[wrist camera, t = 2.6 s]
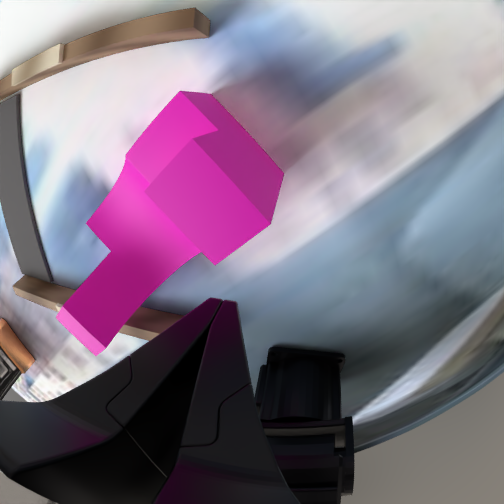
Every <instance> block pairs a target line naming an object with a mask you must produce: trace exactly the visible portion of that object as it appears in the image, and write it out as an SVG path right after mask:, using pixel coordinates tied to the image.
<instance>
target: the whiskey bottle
mask: <svg viewBox="0 0 504 504" xmlns="http://www.w3.org/2000/svg"><path fill="white" fill-rule="evenodd" d="M34 362H35V360H34V358H33V357H32V355H31V354H30V353H29V352H28V351H27V349H26V348H25V347H24V345H23V344H22V343H21V342H20V340H19V339H18V338H17V336H16V335H15V333H14V332H13V331H12V329H11V328H10V326H9V325H8V324H7V322H6V321H5V320H4V319H3V318H1V319H0V400H2V399H3V398H4V396H5V395H6V393H7V392H8V391H9V389H10V388H11V387H12V385H13V384H14V383H15V382H16V380H17V379H18V378H19V376H20V375H21V374H22V373H25V372H26V371H27V370H28V369H29V368H30V366H31V365H32V364H33V363H34Z"/></svg>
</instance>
